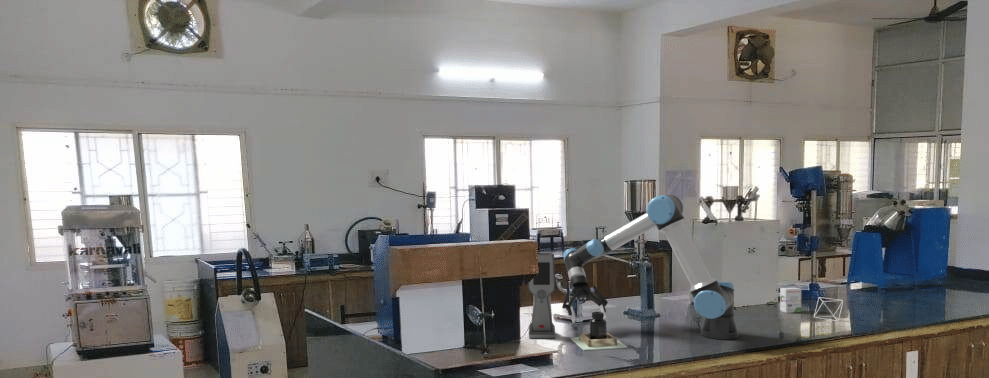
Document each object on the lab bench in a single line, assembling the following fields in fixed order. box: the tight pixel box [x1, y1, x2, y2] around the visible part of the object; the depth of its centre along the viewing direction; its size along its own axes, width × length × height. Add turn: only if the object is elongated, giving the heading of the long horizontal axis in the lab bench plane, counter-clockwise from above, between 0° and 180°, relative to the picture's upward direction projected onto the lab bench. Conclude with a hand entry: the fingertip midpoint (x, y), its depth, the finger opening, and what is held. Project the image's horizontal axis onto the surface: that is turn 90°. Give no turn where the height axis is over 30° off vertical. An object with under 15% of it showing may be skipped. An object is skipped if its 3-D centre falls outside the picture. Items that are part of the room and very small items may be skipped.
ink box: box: [779, 287, 802, 314], centre depth 296 cm, size 8×5×12 cm, turn 99°
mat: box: [569, 336, 628, 351], centre depth 243 cm, size 18×18×1 cm
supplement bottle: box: [589, 311, 607, 340], centre depth 244 cm, size 7×7×12 cm
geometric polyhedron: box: [813, 296, 844, 322], centre depth 282 cm, size 12×11×9 cm
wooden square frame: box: [578, 332, 618, 347], centre depth 243 cm, size 12×12×2 cm
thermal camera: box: [527, 252, 556, 340], centre depth 257 cm, size 12×13×35 cm
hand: (589, 320), depth 254 cm, fingers open, 13 cm apart
